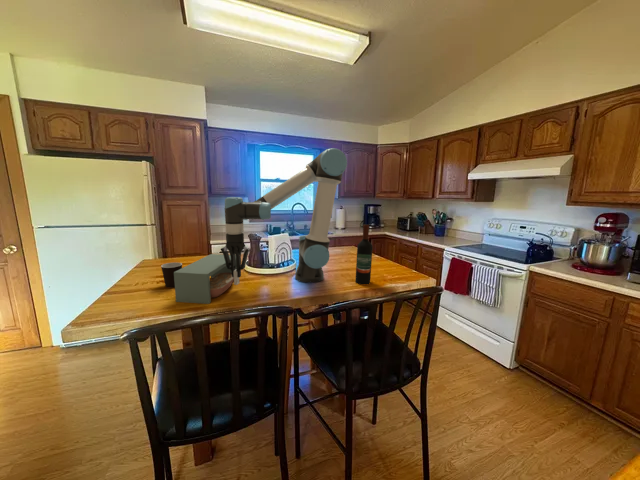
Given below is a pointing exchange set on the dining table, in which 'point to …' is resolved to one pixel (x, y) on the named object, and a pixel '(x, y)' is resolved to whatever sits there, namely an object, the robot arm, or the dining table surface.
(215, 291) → the brown bread loaf
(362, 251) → the wine bottle
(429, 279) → the dining table surface
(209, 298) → the stand
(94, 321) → the dining table surface
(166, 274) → the coffee mug
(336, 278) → the dining table surface
